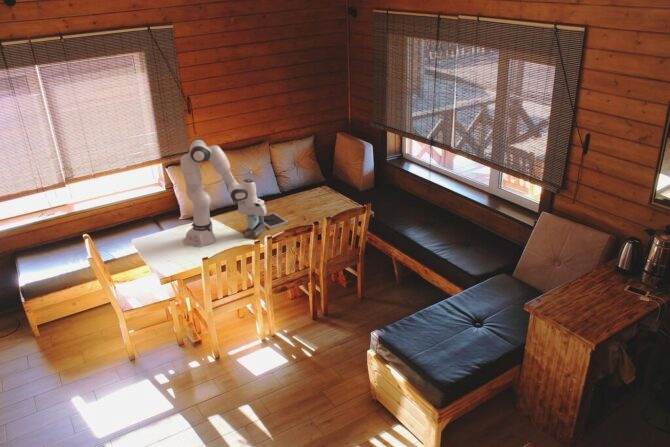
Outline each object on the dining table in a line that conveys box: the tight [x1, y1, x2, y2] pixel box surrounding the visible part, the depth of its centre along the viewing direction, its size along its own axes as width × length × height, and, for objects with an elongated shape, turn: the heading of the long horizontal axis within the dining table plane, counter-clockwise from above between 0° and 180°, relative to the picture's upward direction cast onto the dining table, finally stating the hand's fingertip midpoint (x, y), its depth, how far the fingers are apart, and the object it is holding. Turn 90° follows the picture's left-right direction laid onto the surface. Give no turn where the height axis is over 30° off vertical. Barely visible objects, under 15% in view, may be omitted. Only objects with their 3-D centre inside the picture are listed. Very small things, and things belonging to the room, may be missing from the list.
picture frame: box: [263, 212, 289, 230], centre depth 424 cm, size 16×3×21 cm
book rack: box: [243, 215, 266, 240], centre depth 405 cm, size 10×15×14 cm, turn 164°
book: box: [246, 215, 259, 229], centre depth 403 cm, size 4×11×8 cm, turn 164°
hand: (253, 219), depth 403 cm, fingers closed on book, 3 cm apart
